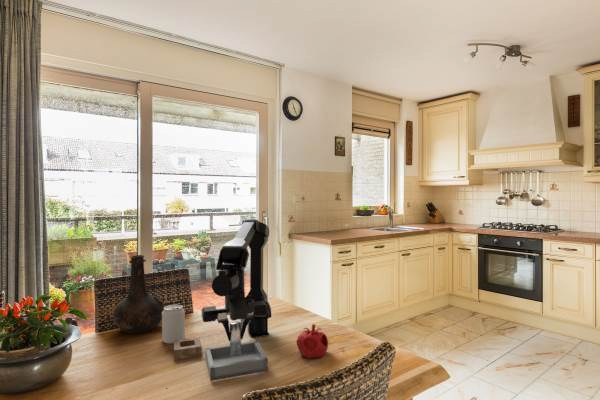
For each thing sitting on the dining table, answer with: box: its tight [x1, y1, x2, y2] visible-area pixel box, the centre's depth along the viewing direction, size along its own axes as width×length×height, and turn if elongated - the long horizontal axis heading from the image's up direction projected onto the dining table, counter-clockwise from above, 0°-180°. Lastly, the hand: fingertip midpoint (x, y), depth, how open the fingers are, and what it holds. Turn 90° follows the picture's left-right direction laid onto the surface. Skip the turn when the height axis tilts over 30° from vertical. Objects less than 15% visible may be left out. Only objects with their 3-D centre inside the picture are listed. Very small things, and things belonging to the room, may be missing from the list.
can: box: [161, 304, 186, 345], centre depth 128 cm, size 8×8×12 cm
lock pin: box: [229, 320, 242, 356], centre depth 109 cm, size 3×3×9 cm
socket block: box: [173, 336, 203, 361], centre depth 117 cm, size 8×8×4 cm
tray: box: [205, 340, 269, 382], centre depth 109 cm, size 16×14×4 cm
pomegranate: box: [295, 323, 329, 359], centre depth 116 cm, size 10×10×9 cm
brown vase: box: [112, 254, 165, 334], centre depth 139 cm, size 18×18×28 cm
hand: (235, 339), depth 109 cm, fingers closed on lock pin, 3 cm apart
